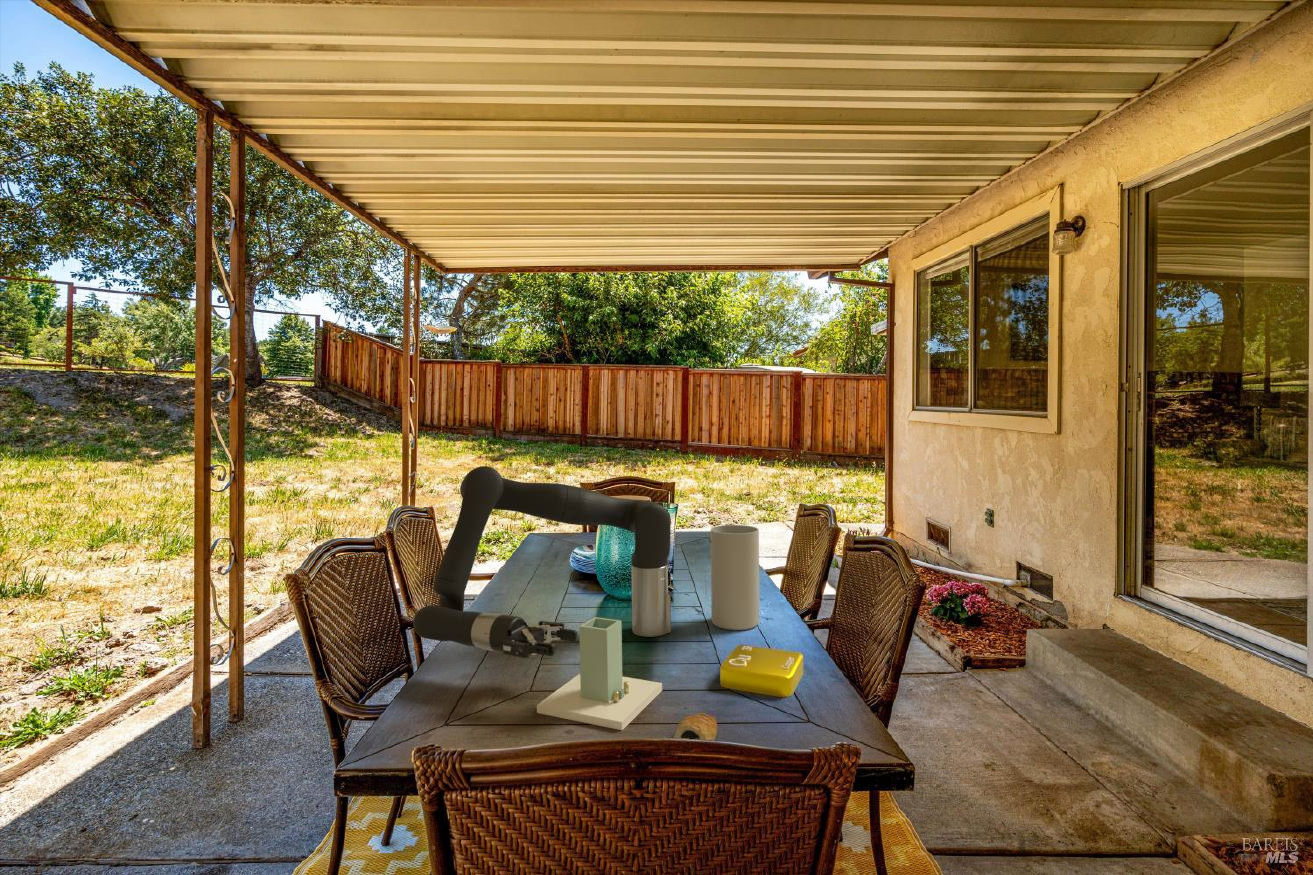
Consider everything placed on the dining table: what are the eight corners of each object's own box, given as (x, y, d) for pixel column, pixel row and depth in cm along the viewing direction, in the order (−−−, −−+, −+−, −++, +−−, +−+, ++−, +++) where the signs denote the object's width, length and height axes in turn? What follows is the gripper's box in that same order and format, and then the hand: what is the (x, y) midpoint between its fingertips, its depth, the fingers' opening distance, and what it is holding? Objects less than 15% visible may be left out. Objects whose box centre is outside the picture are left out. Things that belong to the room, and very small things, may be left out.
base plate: (536, 712, 126) (535, 665, 126) (584, 676, 143) (583, 634, 142) (622, 730, 119) (621, 680, 119) (662, 690, 135) (661, 646, 135)
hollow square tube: (580, 697, 129) (579, 626, 128) (595, 685, 135) (594, 617, 134) (615, 704, 126) (614, 631, 125) (629, 691, 132) (628, 621, 131)
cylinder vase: (705, 627, 173) (704, 532, 172) (719, 613, 185) (718, 523, 183) (752, 633, 168) (752, 535, 167) (764, 618, 180) (763, 526, 179)
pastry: (690, 721, 123) (690, 700, 122) (725, 728, 120) (726, 707, 120) (671, 745, 114) (671, 723, 114) (709, 753, 111) (709, 731, 111)
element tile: (790, 700, 131) (790, 676, 131) (717, 688, 137) (717, 665, 137) (805, 671, 145) (805, 650, 145) (738, 662, 151) (737, 641, 151)
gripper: (476, 625, 133) (545, 635, 127) (518, 605, 146) (583, 614, 140) (477, 662, 134) (546, 674, 127) (519, 639, 147) (583, 649, 140)
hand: (565, 642), depth 134 cm, fingers open, 8 cm apart
